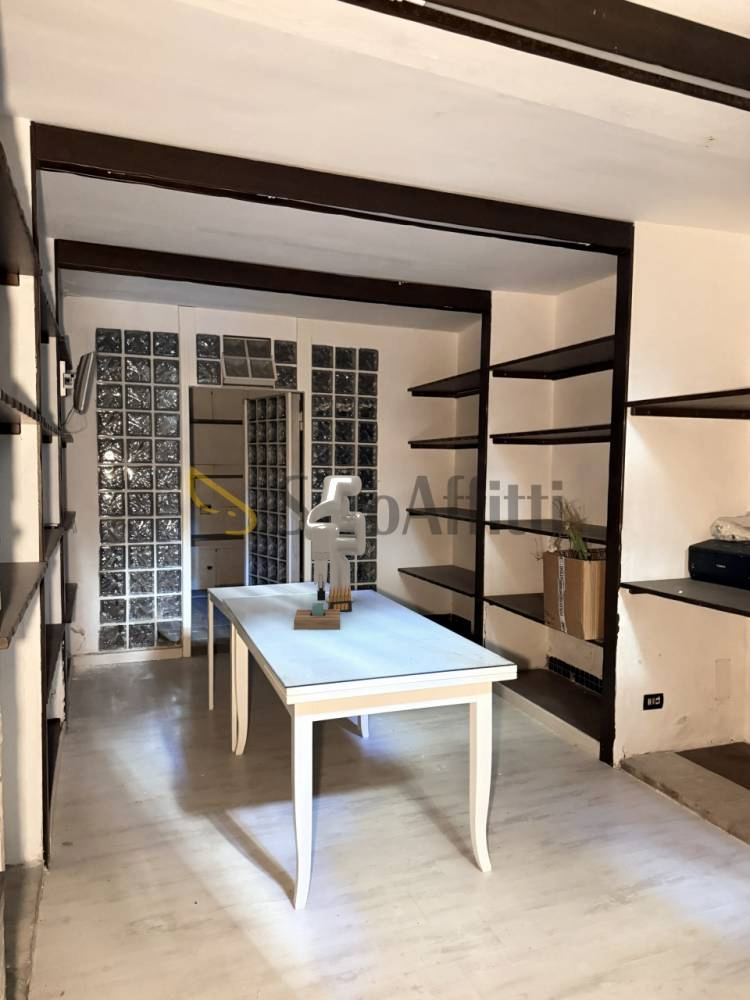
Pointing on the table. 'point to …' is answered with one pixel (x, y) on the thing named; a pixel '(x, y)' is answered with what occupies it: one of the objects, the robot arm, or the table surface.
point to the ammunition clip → (340, 599)
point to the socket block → (317, 619)
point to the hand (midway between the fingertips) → (321, 600)
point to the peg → (317, 609)
